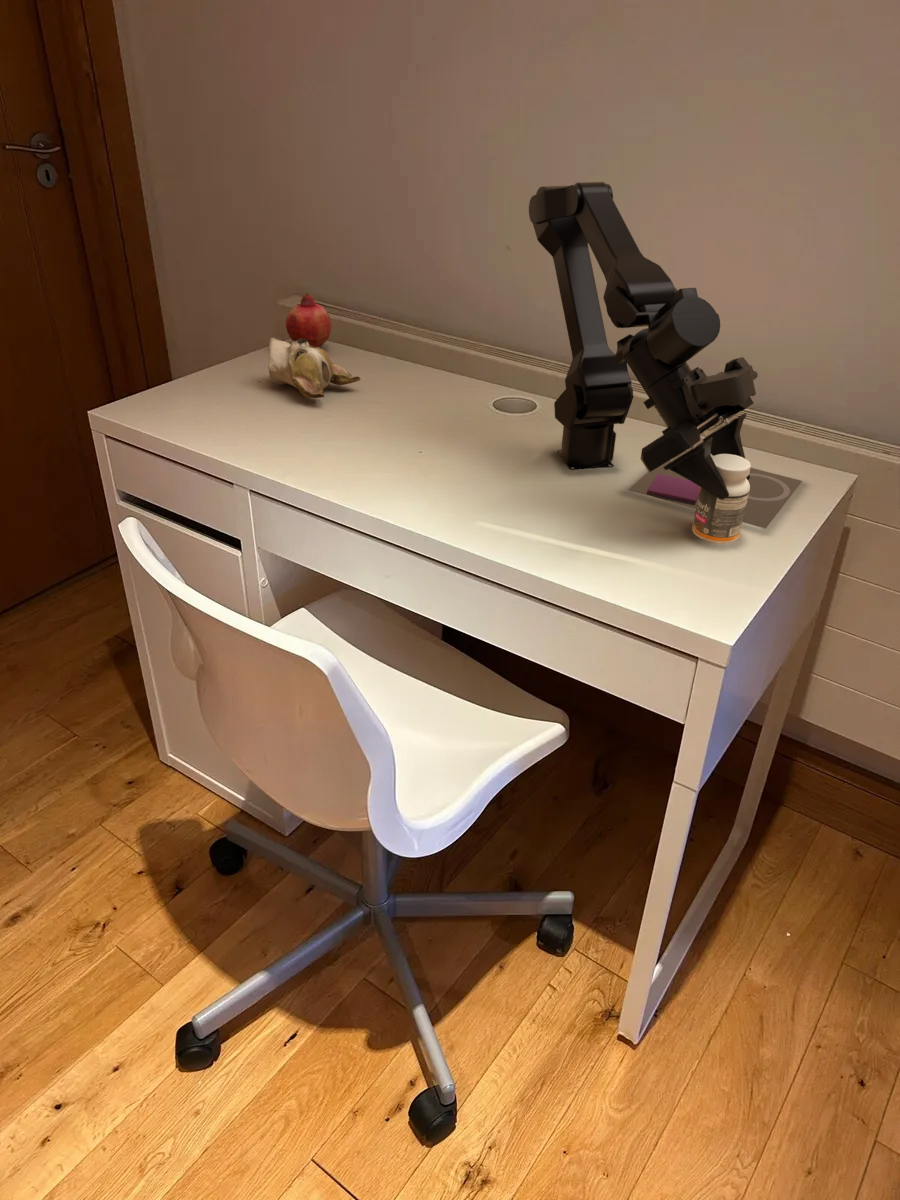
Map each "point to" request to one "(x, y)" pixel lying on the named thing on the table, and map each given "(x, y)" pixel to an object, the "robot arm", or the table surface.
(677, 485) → the plum cloth
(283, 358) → the ceramic sculpture
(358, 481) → the table surface
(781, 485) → the hob
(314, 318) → the fruit
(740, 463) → the pill bottle
